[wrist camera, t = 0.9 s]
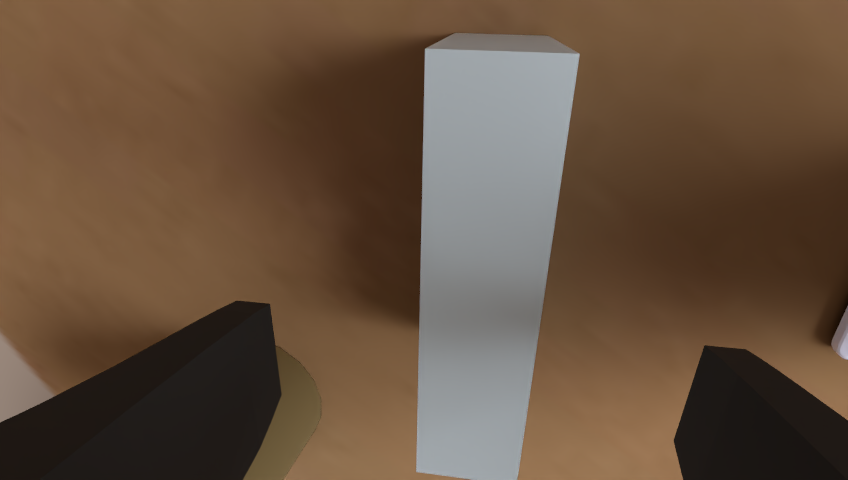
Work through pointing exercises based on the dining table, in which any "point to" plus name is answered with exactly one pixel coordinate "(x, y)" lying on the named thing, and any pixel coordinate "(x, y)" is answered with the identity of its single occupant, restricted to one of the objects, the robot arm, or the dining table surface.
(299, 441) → the cork
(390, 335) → the dining table surface
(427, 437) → the pale blue rectangular brick
